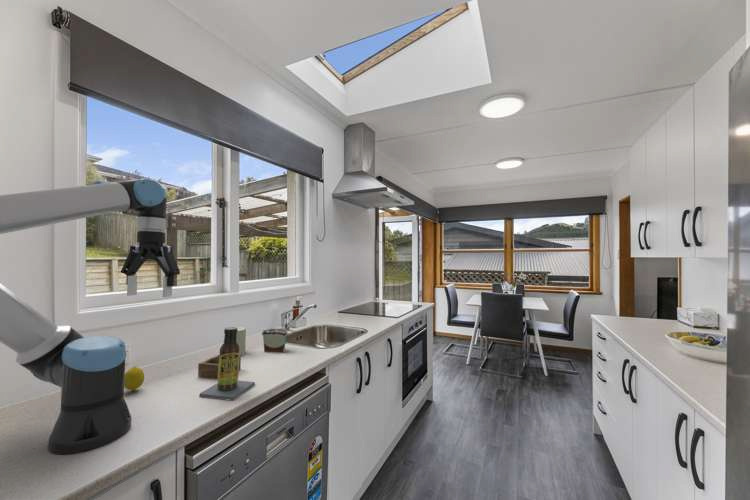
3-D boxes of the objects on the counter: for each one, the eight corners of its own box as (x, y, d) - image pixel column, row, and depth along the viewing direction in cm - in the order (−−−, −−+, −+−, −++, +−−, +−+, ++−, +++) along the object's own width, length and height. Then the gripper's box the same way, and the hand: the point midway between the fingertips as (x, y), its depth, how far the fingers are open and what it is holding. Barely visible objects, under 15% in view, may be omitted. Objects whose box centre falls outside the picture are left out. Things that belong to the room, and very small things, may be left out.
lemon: (147, 388, 103) (148, 364, 103) (130, 395, 98) (131, 370, 98) (135, 386, 105) (136, 363, 105) (118, 393, 99) (119, 368, 100)
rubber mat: (233, 400, 96) (233, 397, 96) (199, 396, 98) (199, 393, 98) (254, 384, 108) (254, 382, 108) (224, 381, 110) (224, 379, 110)
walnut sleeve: (223, 379, 112) (223, 365, 112) (198, 377, 114) (198, 363, 114) (240, 369, 122) (240, 356, 122) (217, 367, 124) (217, 354, 124)
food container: (291, 349, 150) (291, 328, 150) (286, 353, 144) (286, 331, 144) (267, 348, 151) (267, 327, 151) (261, 352, 145) (261, 330, 145)
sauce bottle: (217, 393, 98) (219, 331, 99) (216, 386, 104) (218, 327, 104) (239, 389, 102) (241, 328, 102) (237, 382, 107) (238, 325, 108)
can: (223, 352, 143) (224, 326, 144) (245, 350, 147) (245, 325, 148) (223, 358, 135) (224, 331, 135) (246, 355, 139) (246, 329, 139)
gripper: (193, 232, 102) (191, 296, 102) (130, 232, 107) (128, 293, 106) (175, 230, 95) (172, 298, 94) (108, 230, 99) (105, 295, 99)
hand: (149, 296), depth 100 cm, fingers open, 13 cm apart
